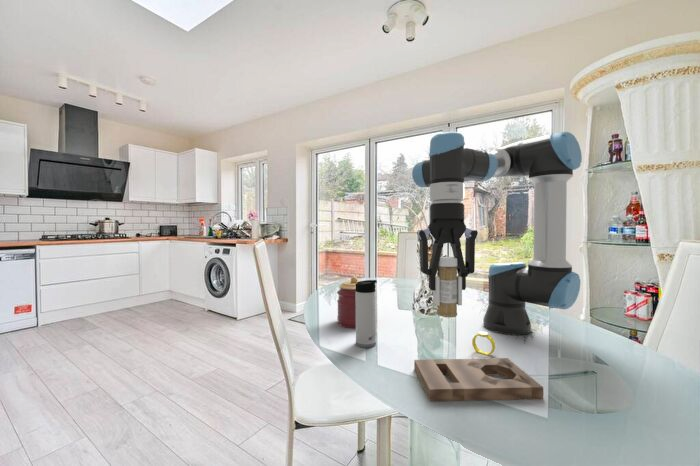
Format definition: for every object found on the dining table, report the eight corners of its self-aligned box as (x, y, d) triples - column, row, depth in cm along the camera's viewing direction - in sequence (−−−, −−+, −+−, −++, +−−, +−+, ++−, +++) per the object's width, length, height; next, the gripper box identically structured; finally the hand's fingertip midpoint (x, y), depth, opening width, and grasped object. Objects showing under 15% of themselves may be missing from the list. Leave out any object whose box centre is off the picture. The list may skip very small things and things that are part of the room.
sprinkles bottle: (447, 311, 73) (447, 255, 73) (461, 316, 69) (461, 257, 69) (432, 314, 71) (432, 257, 71) (446, 319, 67) (446, 258, 67)
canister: (377, 320, 117) (377, 275, 117) (360, 331, 106) (360, 280, 106) (349, 315, 124) (348, 272, 124) (330, 324, 113) (330, 277, 113)
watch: (471, 353, 88) (470, 332, 88) (475, 350, 90) (474, 330, 90) (493, 357, 84) (491, 336, 84) (496, 354, 86) (495, 333, 86)
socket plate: (507, 367, 78) (507, 358, 78) (543, 398, 64) (543, 387, 64) (414, 369, 77) (414, 359, 77) (429, 401, 63) (429, 389, 63)
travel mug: (375, 349, 90) (375, 282, 90) (354, 347, 92) (353, 281, 91) (378, 341, 97) (377, 278, 96) (357, 339, 98) (357, 278, 97)
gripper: (412, 201, 66) (413, 309, 66) (492, 201, 66) (492, 307, 67) (405, 204, 73) (406, 300, 74) (477, 203, 73) (477, 299, 74)
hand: (447, 303), depth 70 cm, fingers closed on sprinkles bottle, 4 cm apart
